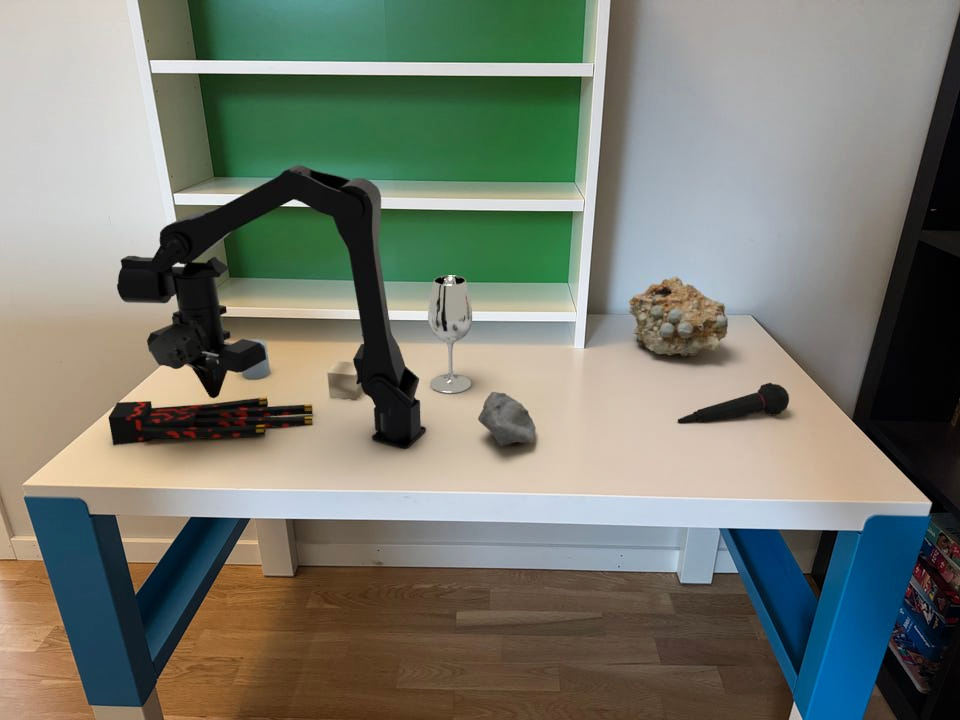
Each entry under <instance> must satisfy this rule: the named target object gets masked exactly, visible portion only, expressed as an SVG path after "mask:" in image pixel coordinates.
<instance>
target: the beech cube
mask: <svg viewBox="0 0 960 720" xmlns="http://www.w3.org/2000/svg"><path fill="white" fill-rule="evenodd" d="M326 374H327V382H328V383H327V384H328V394H329V395H328V396H329V399H336V398H339V400H347V399H351V400H350V401H358V400H357V399H359V398H360V397H361V395H362V394H363V393H364V392H363V390H362V387H361V383H360V384H358V385H357V384H356V382H357V372H356V369H355V366H354V362H352V361H341V360H337V361H336V362H335V363H334V365H333V366H332V367H331V368H330V369H329V370H328V372H327V373H326ZM340 398H341V399H340Z"/></svg>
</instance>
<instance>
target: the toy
mask: <svg viewBox="0 0 960 720" xmlns="http://www.w3.org/2000/svg"><path fill="white" fill-rule="evenodd" d="M152 405H153V404H152V401H150V400H149V401H147V400H146V401H126V402H125V401H122V402H118V401H117V402H116V404H115V405H114V407H113V409H112V410H111V412H110V414H109V415H108V418H107V419H108V423H109V428H110V434H111V439H112V445H113V446H116V445H119V446H120V445H128V444H139V443H140V444H141V443H148V442H149V440H150V439H151V438H154V439H155V438H157V439H158V438H159V439H164V438H165V439H175V438H176V439H212V438H213V439H214V438H237V437H254V436H255V437H256V436H258V437H259V436H266V432H267V431H266V428H292V427H293V428H294V427H305V426H312V425H313V416H302V415H313V410H314V409H313V404H312V403H309V404H294V405H291V404H290V405H275V406H269V401H268V396H265V397H257V398H255V397H254V398H248V399H247V398H245V399H239V400H238V399H237V400H231V401H223V402H215V403H207V404H191V405H189V404H188V405H177V406H176V405H175V406H174V405H173V406H161V407H159V406H158V407H153V406H152ZM300 415H301V416H300Z"/></svg>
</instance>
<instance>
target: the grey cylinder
mask: <svg viewBox="0 0 960 720" xmlns="http://www.w3.org/2000/svg"><path fill="white" fill-rule="evenodd" d="M249 340H250V341H254V342H259V343H261V344H262V345H264V346H265V352H266V360H264V361H262V362H260V363H258V364H257V365H255V366H253V367H251V368H249V369H247V370H245V371H244V372H241V373H242V377H243V378H244V379H245V380H260V379H263V378H266V377H269V375H270V374H271V368H270V360H269V353H268V345H267V342H266V340H264V339H257V338H255V339H249Z"/></svg>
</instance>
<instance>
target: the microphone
mask: <svg viewBox="0 0 960 720" xmlns="http://www.w3.org/2000/svg"><path fill="white" fill-rule="evenodd" d="M789 402H790V396H789V393H788V391H787V389H785V387H783V386H782V385H780V384H777V383H772V382H767V383H765V384H761V385H760V387H759V389H758V390H757V392H753V393H750V394H747V395H743V396H740V397H736V398H734V399H730V400H727V401H724V402H720V403H717V404H712V405H710V406H709V405H708V406H707V407H703V408H700V409H697V410H695V411H694V412H692V413H690V414H687V415H685V416H682V417H680V418H678V419H677V422H678V424H682V423H684V424H685V423H686V424H687V423H694V422H697V423H700V422H701V423H706V422H707V423H708V422H711V421H712V422H713V421H718V420H724V419H730V418H734V417H739V416H745V415H751V414H758V413H762V412H763V413H765V414H768V415H770V416H776V415H781V413H782V412H783V411H785V410H786V409H787V408H788V406H789Z"/></svg>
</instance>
